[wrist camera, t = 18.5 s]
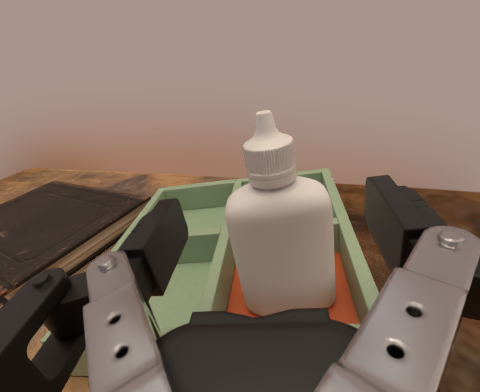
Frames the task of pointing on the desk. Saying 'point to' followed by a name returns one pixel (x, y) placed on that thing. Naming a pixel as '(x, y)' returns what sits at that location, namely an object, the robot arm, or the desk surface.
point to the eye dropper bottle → (280, 228)
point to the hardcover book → (60, 229)
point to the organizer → (224, 267)
